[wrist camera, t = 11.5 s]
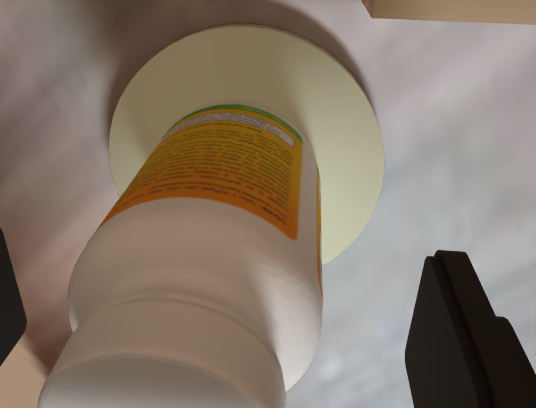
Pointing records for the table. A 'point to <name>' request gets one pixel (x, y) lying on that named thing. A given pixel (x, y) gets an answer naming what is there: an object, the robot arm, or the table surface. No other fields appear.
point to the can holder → (455, 10)
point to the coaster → (269, 96)
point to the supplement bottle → (201, 273)
